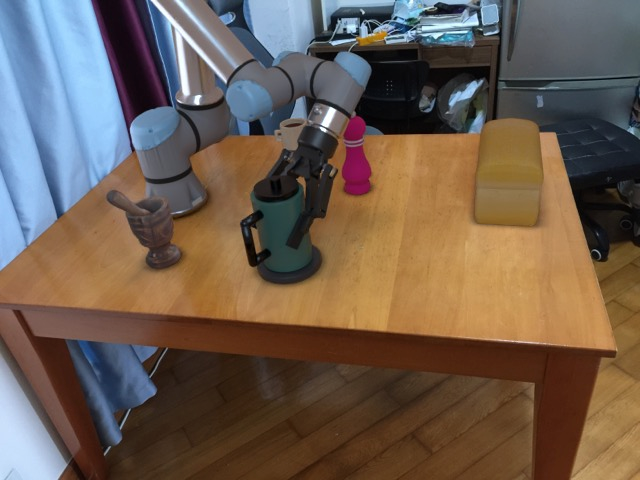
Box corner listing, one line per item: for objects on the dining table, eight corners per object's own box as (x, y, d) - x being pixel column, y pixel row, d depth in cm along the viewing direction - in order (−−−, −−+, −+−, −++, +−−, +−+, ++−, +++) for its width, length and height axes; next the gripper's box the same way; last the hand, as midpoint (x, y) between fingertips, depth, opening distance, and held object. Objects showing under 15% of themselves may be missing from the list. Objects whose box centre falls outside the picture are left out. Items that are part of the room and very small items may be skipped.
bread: (478, 171, 135) (481, 113, 126) (534, 173, 131) (541, 113, 123) (472, 223, 115) (475, 158, 107) (537, 227, 112) (546, 160, 103)
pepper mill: (376, 183, 135) (372, 105, 124) (366, 197, 130) (360, 117, 119) (349, 180, 138) (343, 104, 127) (338, 194, 133) (330, 115, 122)
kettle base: (271, 244, 117) (269, 238, 117) (328, 248, 114) (328, 242, 113) (247, 281, 107) (246, 275, 106) (310, 287, 103) (309, 281, 102)
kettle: (300, 228, 118) (288, 153, 108) (336, 241, 112) (327, 163, 102) (236, 274, 106) (216, 194, 97) (272, 291, 101) (255, 208, 91)
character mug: (321, 162, 149) (316, 116, 142) (316, 174, 143) (311, 127, 136) (283, 163, 151) (276, 118, 144) (277, 174, 146) (269, 128, 139)
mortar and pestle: (169, 280, 110) (140, 193, 99) (130, 280, 112) (97, 194, 101) (189, 248, 120) (165, 165, 109) (152, 248, 121) (125, 167, 111)
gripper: (272, 113, 109) (225, 214, 109) (354, 136, 94) (300, 253, 94) (295, 129, 115) (250, 225, 115) (377, 153, 100) (325, 263, 100)
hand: (273, 237), depth 105 cm, fingers closed on kettle, 10 cm apart
